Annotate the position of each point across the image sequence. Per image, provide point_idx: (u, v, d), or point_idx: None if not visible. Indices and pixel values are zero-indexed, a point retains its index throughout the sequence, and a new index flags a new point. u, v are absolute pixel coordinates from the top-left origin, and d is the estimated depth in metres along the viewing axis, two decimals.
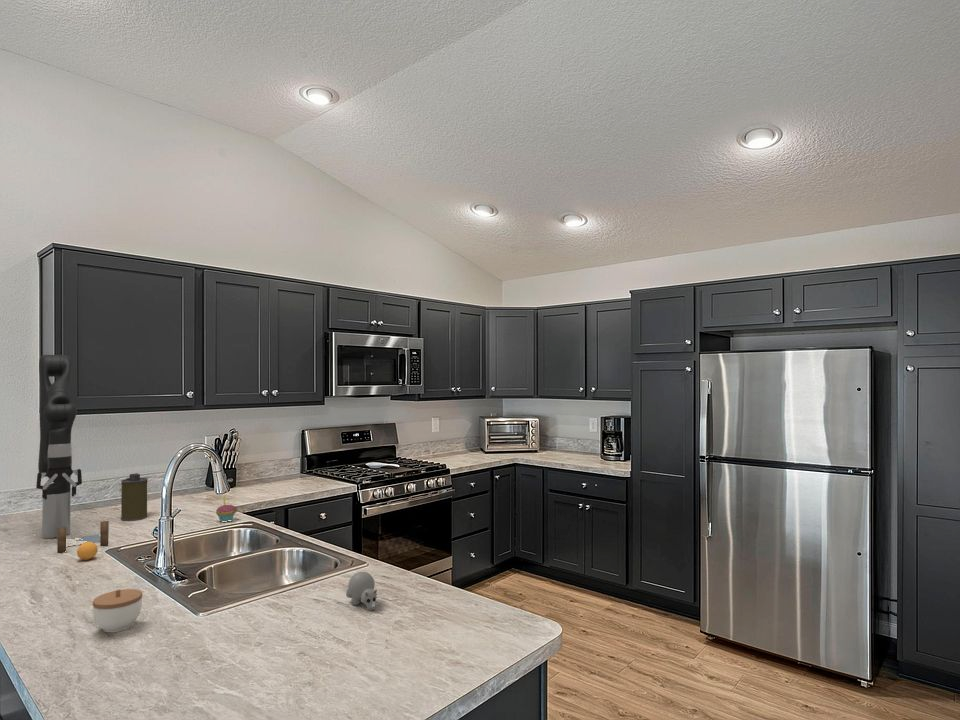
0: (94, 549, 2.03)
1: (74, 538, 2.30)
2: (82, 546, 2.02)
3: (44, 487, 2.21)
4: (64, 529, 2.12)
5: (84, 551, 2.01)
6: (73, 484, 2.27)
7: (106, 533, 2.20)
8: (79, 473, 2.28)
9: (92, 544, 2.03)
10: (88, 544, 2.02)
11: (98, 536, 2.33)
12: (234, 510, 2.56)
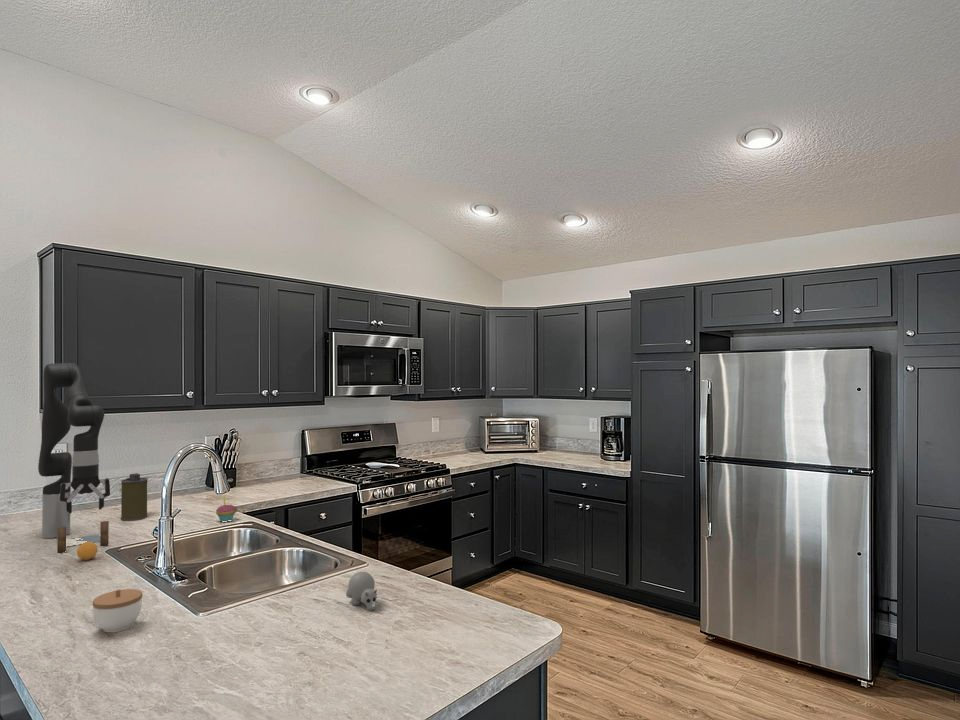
0: (94, 549, 2.03)
1: (74, 538, 2.30)
2: (82, 546, 2.02)
3: (69, 499, 1.96)
4: (64, 529, 2.12)
5: (84, 551, 2.01)
6: (100, 496, 2.02)
7: (106, 533, 2.20)
8: (107, 483, 2.03)
9: (92, 544, 2.03)
10: (88, 544, 2.02)
11: (98, 536, 2.33)
12: (234, 510, 2.56)
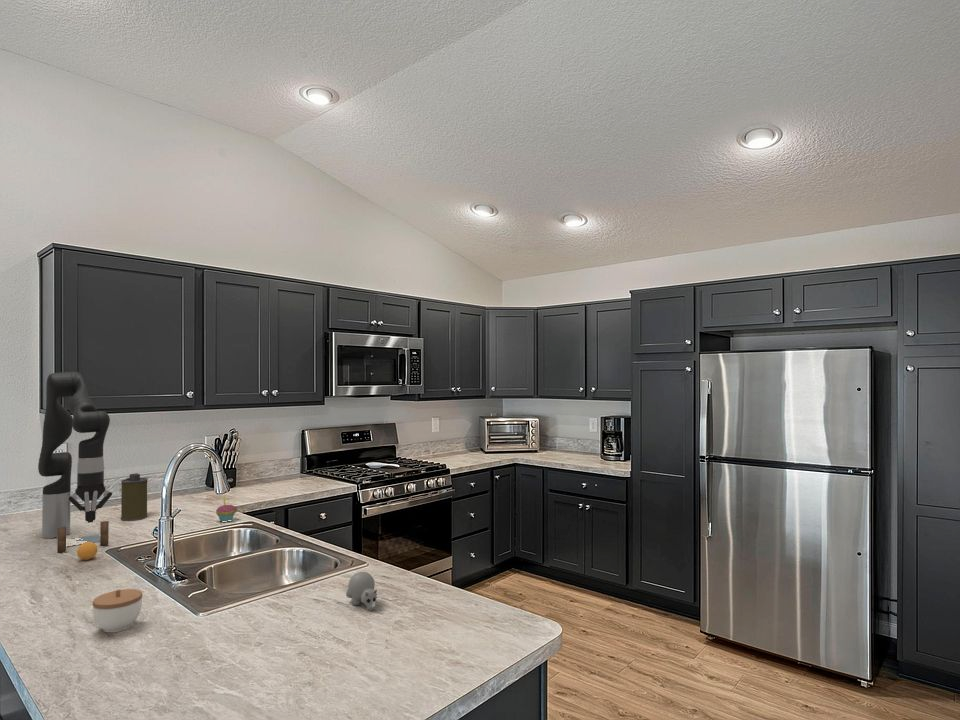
0: (94, 549, 2.03)
1: (74, 538, 2.30)
2: (82, 546, 2.02)
3: (87, 509, 1.95)
4: (64, 529, 2.12)
5: (84, 551, 2.01)
6: (93, 507, 1.97)
7: (106, 533, 2.20)
8: (108, 496, 1.99)
9: (92, 544, 2.03)
10: (88, 544, 2.02)
11: (98, 536, 2.33)
12: (234, 510, 2.56)
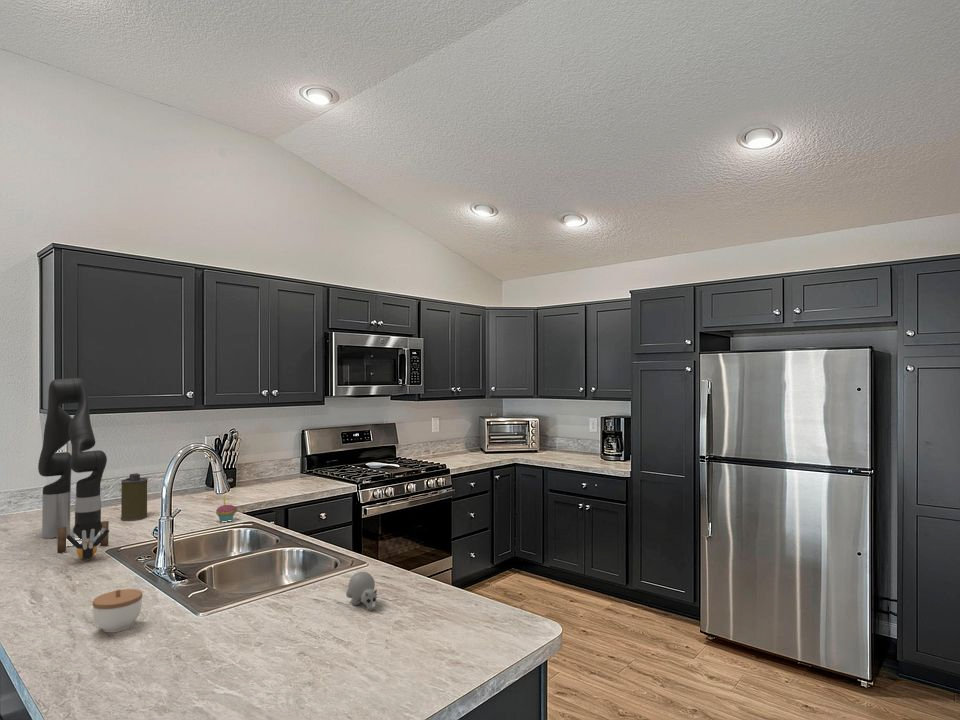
0: None
1: (74, 538, 2.30)
2: (81, 543, 2.04)
3: (84, 547, 2.00)
4: (64, 529, 2.12)
5: None
6: (90, 545, 2.01)
7: None
8: (104, 534, 2.04)
9: None
10: (87, 541, 2.05)
11: (98, 536, 2.33)
12: (234, 510, 2.56)
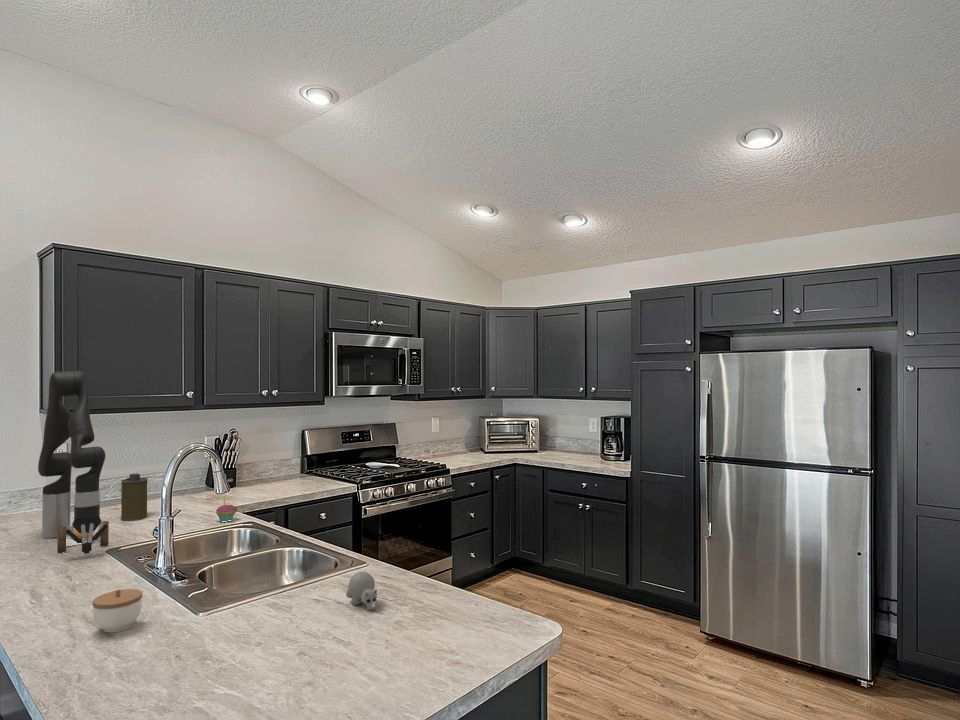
0: None
1: None
2: None
3: (83, 541, 2.04)
4: (64, 529, 2.12)
5: None
6: (89, 539, 2.06)
7: (106, 533, 2.20)
8: (103, 528, 2.08)
9: None
10: None
11: None
12: (234, 510, 2.56)
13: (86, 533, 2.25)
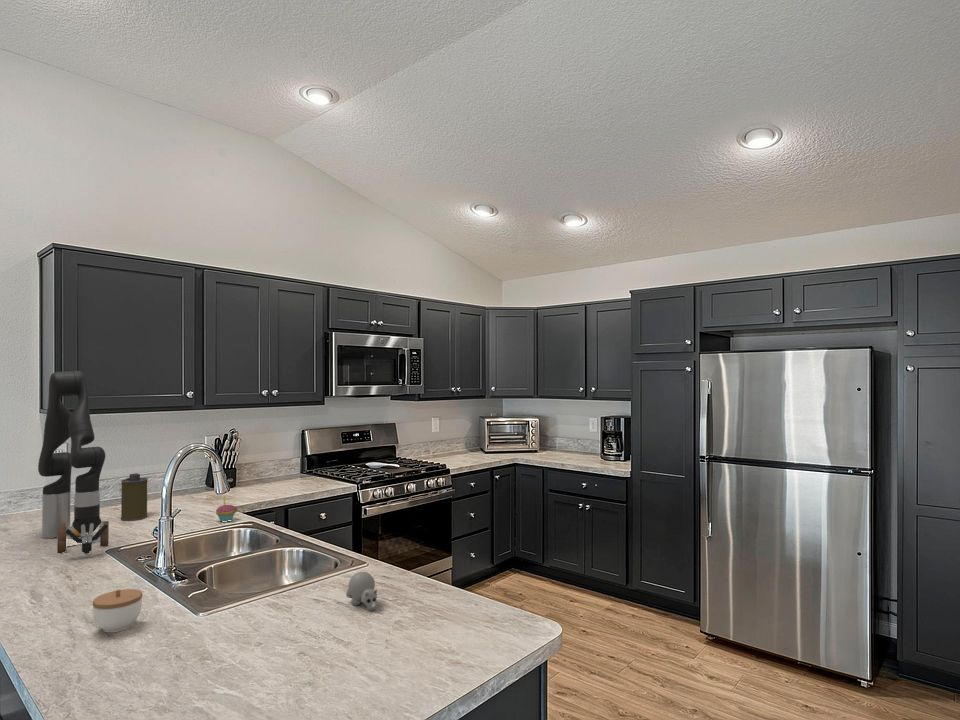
0: None
1: None
2: None
3: (83, 541, 2.04)
4: (64, 529, 2.12)
5: None
6: (89, 539, 2.06)
7: (106, 533, 2.20)
8: (103, 528, 2.08)
9: None
10: None
11: None
12: (234, 510, 2.56)
13: None
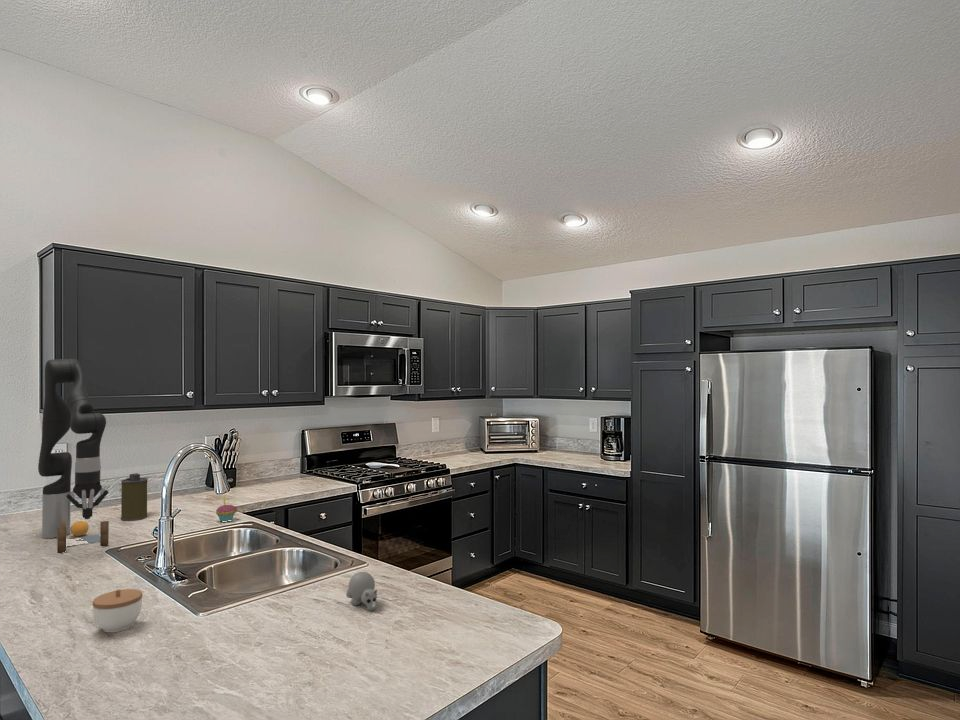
0: (85, 527, 2.34)
1: (74, 538, 2.30)
2: (75, 524, 2.32)
3: (84, 506, 2.05)
4: (64, 529, 2.12)
5: (76, 528, 2.31)
6: (90, 505, 2.06)
7: (106, 533, 2.20)
8: (104, 494, 2.09)
9: (84, 522, 2.34)
10: (80, 522, 2.33)
11: (98, 536, 2.33)
12: (234, 510, 2.56)
13: None
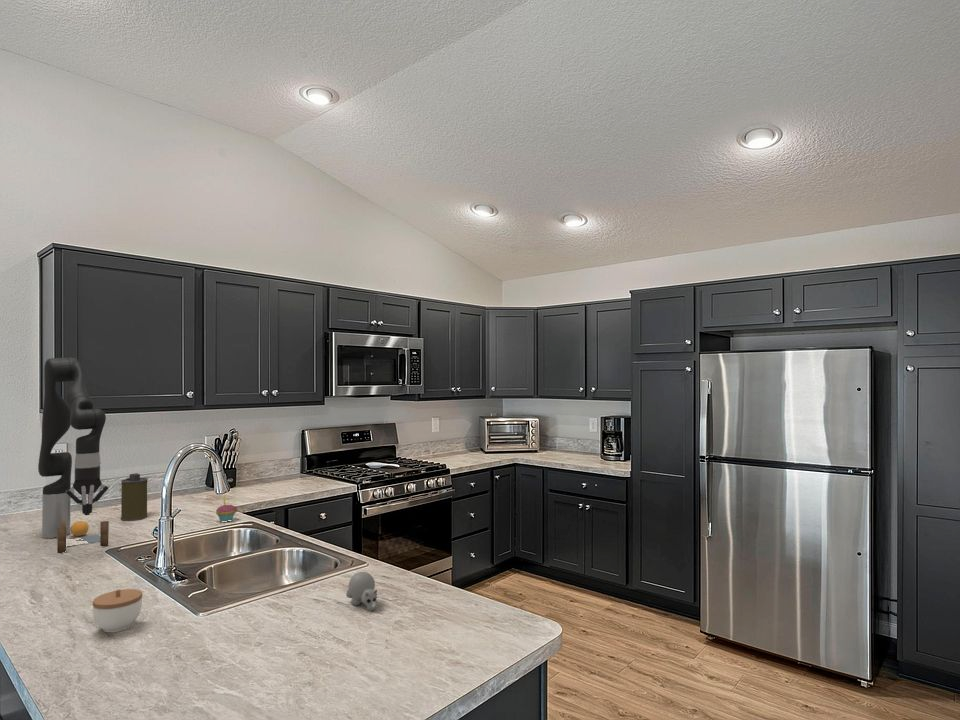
0: (85, 527, 2.34)
1: (74, 538, 2.30)
2: (75, 524, 2.32)
3: (84, 502, 2.05)
4: (64, 529, 2.12)
5: (76, 528, 2.31)
6: (90, 501, 2.06)
7: (106, 533, 2.20)
8: (104, 490, 2.09)
9: (84, 522, 2.34)
10: (80, 522, 2.33)
11: (98, 536, 2.33)
12: (234, 510, 2.56)
13: None
